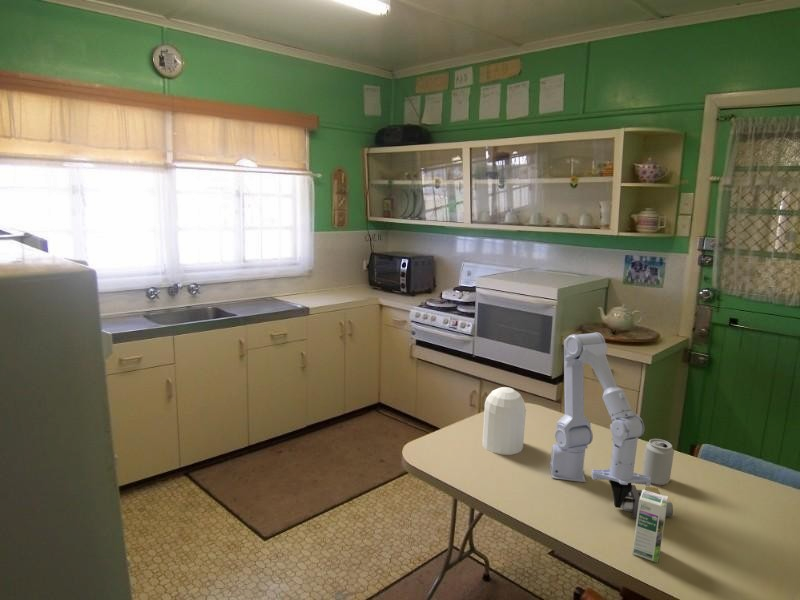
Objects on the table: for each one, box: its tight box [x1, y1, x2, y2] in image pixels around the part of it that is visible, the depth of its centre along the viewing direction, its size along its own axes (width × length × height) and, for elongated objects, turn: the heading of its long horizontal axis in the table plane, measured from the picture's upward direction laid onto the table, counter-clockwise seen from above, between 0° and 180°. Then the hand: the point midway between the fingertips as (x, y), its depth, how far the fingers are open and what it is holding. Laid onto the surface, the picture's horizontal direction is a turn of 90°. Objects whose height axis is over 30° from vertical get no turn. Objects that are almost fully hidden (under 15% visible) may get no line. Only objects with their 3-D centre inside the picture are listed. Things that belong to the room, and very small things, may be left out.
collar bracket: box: [626, 484, 661, 520], centre depth 145 cm, size 10×10×6 cm
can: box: [641, 438, 675, 486], centre depth 160 cm, size 8×8×12 cm
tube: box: [621, 497, 674, 518], centre depth 144 cm, size 12×4×4 cm, turn 79°
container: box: [482, 386, 527, 456], centre depth 178 cm, size 14×13×20 cm
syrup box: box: [631, 489, 669, 563], centre depth 127 cm, size 6×6×14 cm
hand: (617, 505), depth 146 cm, fingers closed
